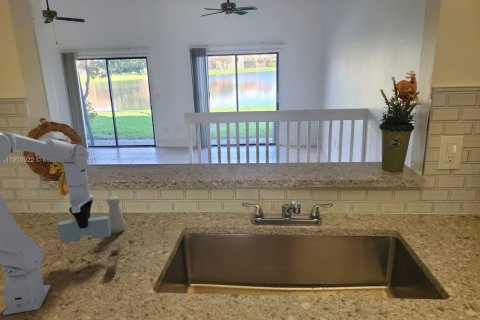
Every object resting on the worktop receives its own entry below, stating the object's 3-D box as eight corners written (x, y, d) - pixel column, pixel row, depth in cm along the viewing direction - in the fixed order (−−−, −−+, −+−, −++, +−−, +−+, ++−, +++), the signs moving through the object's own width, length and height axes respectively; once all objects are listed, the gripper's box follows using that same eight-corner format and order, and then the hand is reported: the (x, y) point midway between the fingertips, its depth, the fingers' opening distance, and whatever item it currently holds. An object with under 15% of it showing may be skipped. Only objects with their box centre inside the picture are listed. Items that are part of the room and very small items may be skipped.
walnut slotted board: (115, 274, 96) (114, 265, 95) (108, 275, 95) (106, 266, 95) (120, 250, 109) (119, 241, 108) (113, 250, 109) (112, 242, 108)
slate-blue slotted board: (110, 236, 105) (107, 218, 104) (61, 243, 102) (57, 224, 100) (111, 232, 107) (108, 215, 106) (63, 239, 104) (59, 221, 103)
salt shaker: (105, 232, 122) (100, 198, 118) (117, 226, 126) (113, 193, 123) (117, 235, 119) (112, 201, 115) (129, 228, 124) (124, 195, 120)
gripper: (87, 190, 94) (94, 234, 98) (96, 175, 108) (102, 214, 111) (60, 193, 93) (68, 237, 96) (72, 177, 106) (79, 217, 110)
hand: (84, 225), depth 104 cm, fingers closed on slate-blue slotted board, 2 cm apart
